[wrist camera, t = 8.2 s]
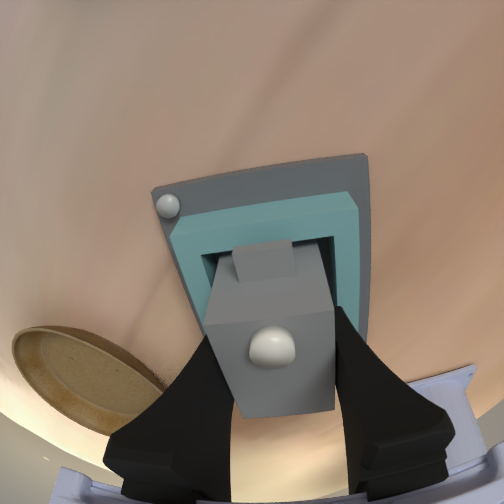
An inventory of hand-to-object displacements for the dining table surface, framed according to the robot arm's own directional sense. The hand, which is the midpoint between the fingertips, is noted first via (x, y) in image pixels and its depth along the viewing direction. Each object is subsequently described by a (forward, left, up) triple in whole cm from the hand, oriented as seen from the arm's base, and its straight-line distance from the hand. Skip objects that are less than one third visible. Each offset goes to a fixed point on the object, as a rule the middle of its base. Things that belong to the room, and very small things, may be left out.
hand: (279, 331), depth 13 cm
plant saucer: (-8, +15, -4) cm, 18 cm away
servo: (-1, 0, -2) cm, 2 cm away
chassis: (0, 0, -3) cm, 3 cm away
